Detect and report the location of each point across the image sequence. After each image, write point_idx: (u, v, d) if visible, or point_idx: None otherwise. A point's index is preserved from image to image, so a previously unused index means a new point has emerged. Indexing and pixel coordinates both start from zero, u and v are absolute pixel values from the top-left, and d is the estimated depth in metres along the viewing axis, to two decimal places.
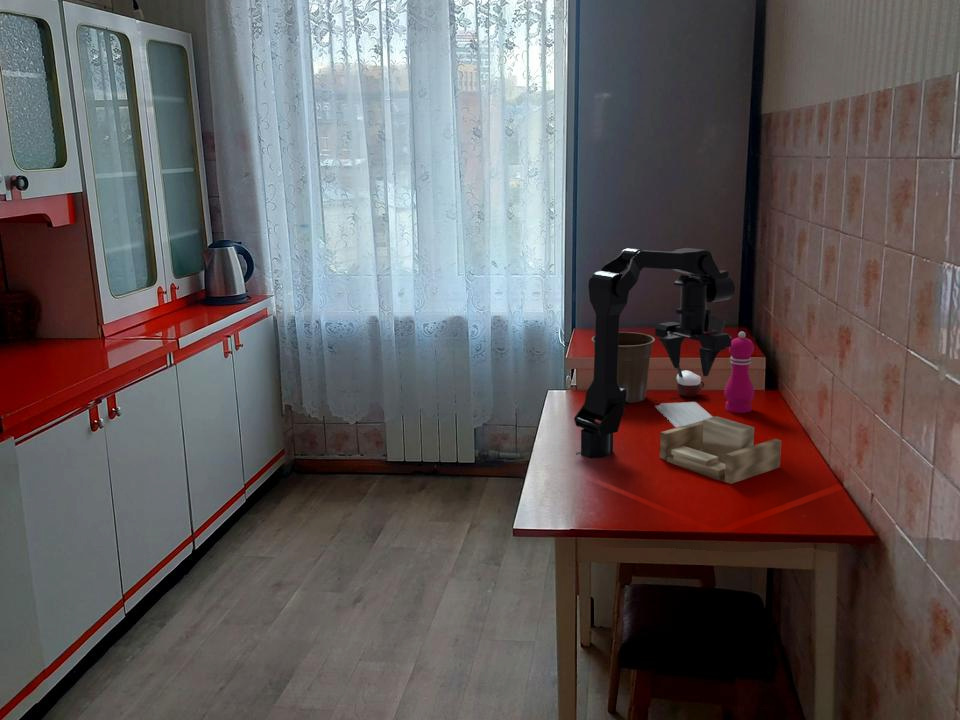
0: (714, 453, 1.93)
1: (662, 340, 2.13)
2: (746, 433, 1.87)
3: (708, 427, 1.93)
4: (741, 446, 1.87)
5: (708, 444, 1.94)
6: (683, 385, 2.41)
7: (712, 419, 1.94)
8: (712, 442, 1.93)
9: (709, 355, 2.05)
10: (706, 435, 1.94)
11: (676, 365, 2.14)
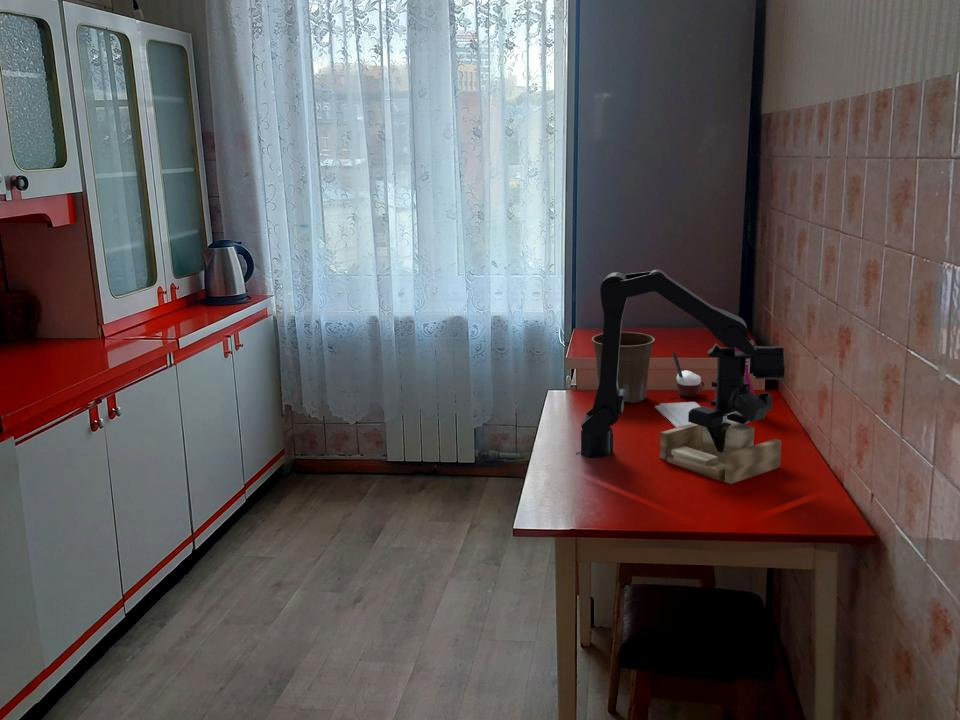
0: (714, 453, 1.93)
1: None
2: (746, 433, 1.87)
3: None
4: (741, 446, 1.87)
5: (708, 444, 1.94)
6: (683, 385, 2.41)
7: None
8: (712, 442, 1.93)
9: (716, 429, 1.90)
10: (706, 435, 1.94)
11: None
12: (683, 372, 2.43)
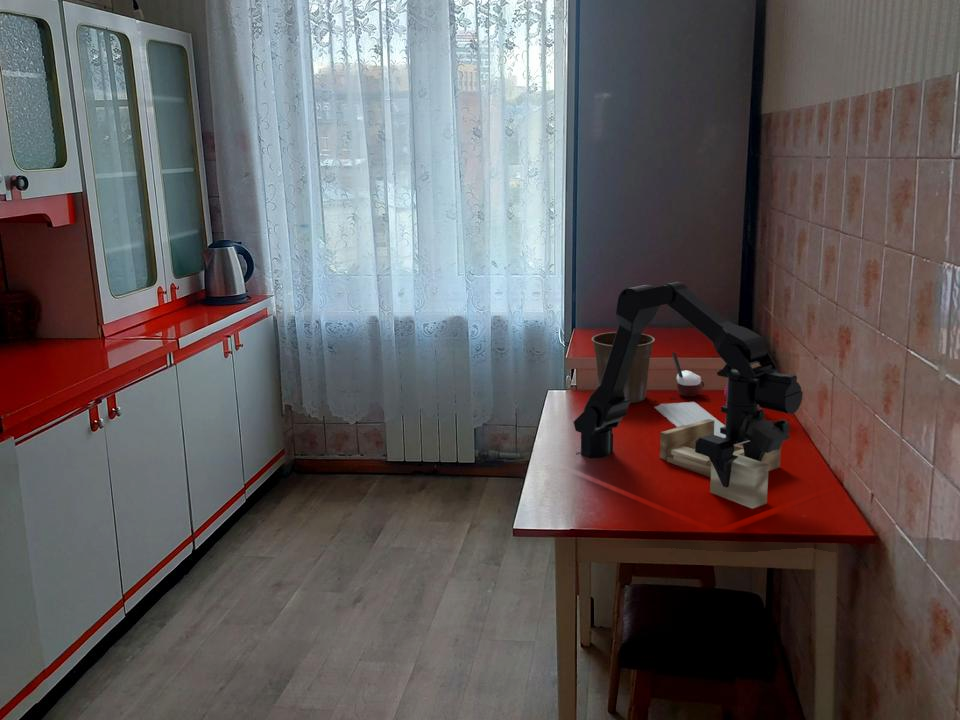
0: (724, 492, 1.73)
1: None
2: (759, 471, 1.67)
3: None
4: (754, 485, 1.67)
5: (717, 482, 1.74)
6: (683, 385, 2.41)
7: None
8: None
9: (721, 462, 1.69)
10: (715, 472, 1.74)
11: None
12: (683, 372, 2.43)
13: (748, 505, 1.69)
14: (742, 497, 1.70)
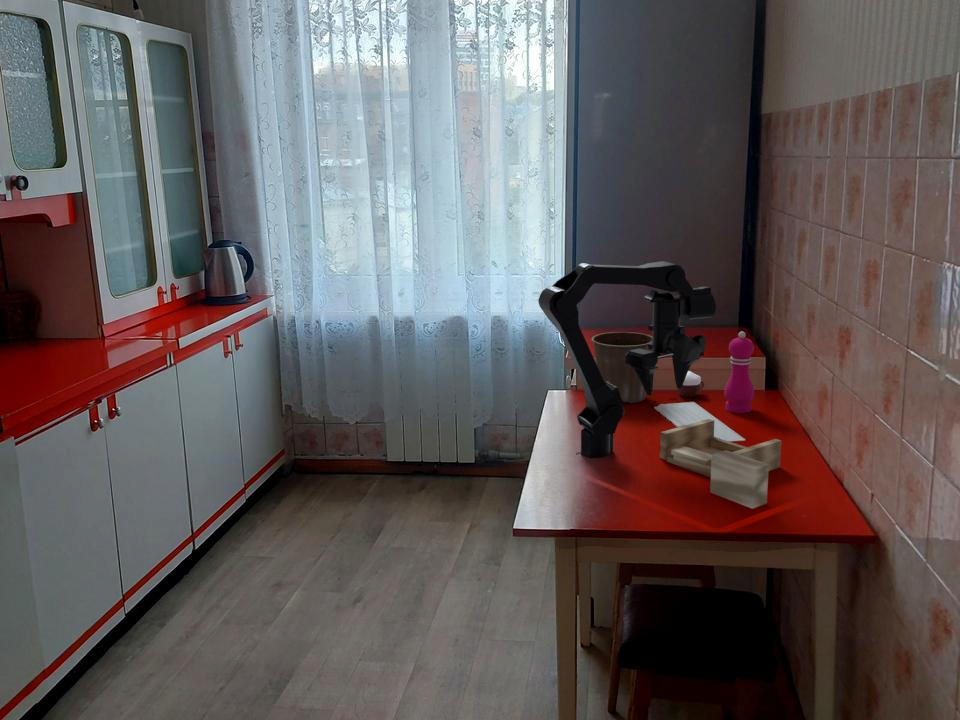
0: (724, 492, 1.73)
1: None
2: (759, 471, 1.67)
3: (717, 463, 1.74)
4: (754, 485, 1.67)
5: (717, 482, 1.74)
6: (683, 385, 2.41)
7: (722, 454, 1.74)
8: (721, 480, 1.73)
9: (644, 373, 1.96)
10: (715, 472, 1.74)
11: (677, 385, 2.03)
12: None
13: (748, 505, 1.69)
14: (742, 497, 1.70)
